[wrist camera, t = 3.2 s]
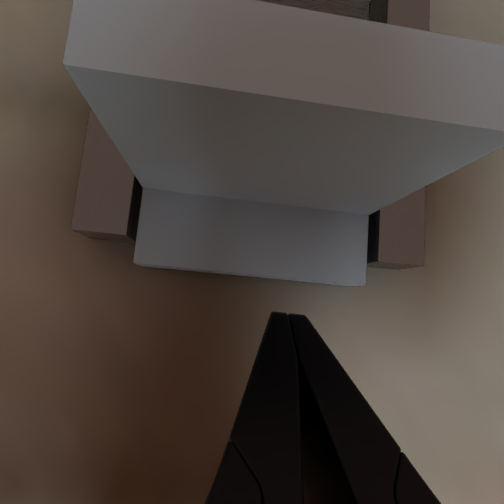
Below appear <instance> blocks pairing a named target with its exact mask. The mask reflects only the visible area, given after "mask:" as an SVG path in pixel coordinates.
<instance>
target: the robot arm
mask: <svg viewBox="0 0 504 504" xmlns="http://www.w3.org/2000/svg"><path fill="white" fill-rule="evenodd" d="M205 504H441V503H440V502H439V500H438V499H437V498H436V496H435V495H434V494H433V492H432V491H431V490H430V488H429V487H428V486H427V484H426V483H425V481H424V480H423V479H422V477H421V476H420V475H419V473H418V472H417V471H416V469H415V468H414V467H413V465H412V464H411V462H410V461H409V460H408V458H407V457H406V455H405V454H404V453H403V452H401V449H400V447H399V446H398V444H397V443H396V442H395V440H394V439H393V437H392V436H391V435H390V433H389V432H388V430H387V429H386V428H385V426H384V425H383V423H382V422H381V421H380V419H379V418H378V416H377V415H376V414H375V412H374V411H373V409H372V408H371V407H370V405H369V404H368V402H367V401H366V399H365V398H364V397H363V395H362V394H361V392H360V391H359V390H358V388H357V387H356V385H355V384H354V383H353V381H352V380H351V378H350V377H349V376H348V374H347V373H346V371H345V370H344V369H343V367H342V366H341V364H340V363H339V362H338V360H337V359H336V357H335V356H334V355H333V353H332V352H331V350H330V349H329V348H328V346H327V345H326V343H325V342H324V341H323V339H322V338H321V336H320V335H319V334H318V332H317V331H316V329H315V328H314V327H313V325H312V324H311V322H310V321H309V320H308V318H307V317H306V316H305V315H301V314H292V313H291V314H287V313H282V312H271V314H270V317H269V320H268V323H267V326H266V329H265V332H264V335H263V338H262V341H261V344H260V347H259V350H258V353H257V356H256V359H255V362H254V365H253V368H252V371H251V374H250V377H249V380H248V383H247V386H246V389H245V392H244V395H243V398H242V401H241V404H240V407H239V410H238V413H237V416H236V419H235V422H234V425H233V428H232V431H231V434H230V437H229V440H228V442H227V445H226V448H225V451H224V454H223V457H222V460H221V463H220V466H219V468H218V471H217V474H216V476H215V479H214V482H213V484H212V487H211V490H210V492H209V495H208V497H207V499H206V501H205Z"/></svg>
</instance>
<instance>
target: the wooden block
mask: <svg viewBox="0 0 504 504" xmlns="http://www.w3.org/2000/svg"><path fill="white" fill-rule="evenodd" d="M257 1H263V2H268V3H274V4H279V5H285V6H290V7H296V8H301V9H307V10H313V11H318V12H324V13H329V14H335V15H340V16H346V17H351V18H357V19H361V17H362V15H363V14H364V12H365V10H366V8H367V6H368V4H369V3H370V1H371V0H257Z"/></svg>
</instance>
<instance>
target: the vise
mask: <svg viewBox="0 0 504 504" xmlns="http://www.w3.org/2000/svg"><path fill="white" fill-rule="evenodd" d="M429 9H430V0H371V1H370V10H369V21H373V22H379V23H385V24H390V25H396V26H401V27H407V28H412V29H418V30H423V31H429ZM142 193H143V187H142V186H141V184H140V183H139V181H138V180H137V178H136V176H135V175H134V173H133V172H132V170H131V169H130V167H129V166H128V164H127V163H126V161H125V160H124V158H123V157H122V155H121V153H120V152H119V150H118V149H117V147H116V146H115V144H114V143H113V141H112V140H111V138H110V137H109V135H108V133H107V132H106V130H105V129H104V127H103V126H102V124H101V123H100V121H99V120H98V118H97V117H96V115H95V113H94V112H93V110H92V109H91V107H90V112H89V119H88V125H87V131H86V137H85V143H84V149H83V156H82V162H81V168H80V174H79V180H78V187H77V193H76V199H75V205H74V211H73V217H72V224H71V230H73V231H75V232H78V233H80V234H82V235H84V236H86V237H88V238H94V239H104V240H114V241H123V242H133V243H136V237H137V230H138V223H139V215H140V208H141V200H142ZM425 202H426V186H425V187H423V188H421V189H419V190H417V191H415V192H413V193H411V194H409V195H407V196H405V197H403V198H401V199H399V200H397V201H395V202H393V203H391V204H389V205H387V206H385V207H384V208H382V209H380V210H378V211H376V212H374V213H372V214H370V215H369V221H368V244H367V266H369V267H379V268H388V269H406V268H413V267H421V266H424V250H425Z"/></svg>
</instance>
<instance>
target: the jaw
mask: <svg viewBox="0 0 504 504" xmlns="http://www.w3.org/2000/svg"><path fill="white" fill-rule="evenodd" d="M63 66H64V67H65V69H66V70H67V72H68V74H69V75H70V77H71V78H72V80H73V81H74V83H75V84H76V86H77V87H78V89H79V90H80V92H81V93H82V95H83V97H84V98H85V100H86V101H87V103H88V104H89V106H90V107H91V109H92V110H93V112H94V113H95V115H96V117H97V118H98V120H99V121H100V123H101V124H102V126H103V127H104V129H105V130H106V132H107V133H108V135H109V137H110V138H111V140H112V141H113V143H114V144H115V146H116V147H117V149H118V150H119V152H120V153H121V155H122V157H123V158H124V160H125V161H126V163H127V164H128V166H129V167H130V169H131V170H132V172H133V173H134V175H135V176H136V178H137V180H138V181H139V183H140V184H141V186H142V187H143V193H142V200H141V208H140V215H139V223H138V230H137V237H136V245H135V252H134V260H133V263H134V264H137V265H139V266H144V267H154V268H165V269H175V270H186V271H196V272H207V273H217V274H228V275H238V276H249V277H259V278H270V279H280V280H291V281H302V282H312V283H323V284H333V285H344V286H364V285H366V268H367V244H368V221H369V215H370V214H372V213H374V212H376V211H378V210H380V209H382V208H384V207H385V206H387V205H389V204H391V203H393V202H395V201H397V200H399V199H401V198H403V197H405V196H407V195H409V194H411V193H413V192H415V191H417V190H419V189H421V188H423V187H425V186H427V185H429V184H431V183H433V182H435V181H437V180H439V179H441V178H443V177H445V176H447V175H449V174H451V173H453V172H455V171H457V170H459V169H461V168H463V167H465V166H467V165H469V164H471V163H473V162H475V161H477V160H479V159H481V158H483V157H484V156H486V155H488V154H490V153H492V152H494V151H496V150H498V149H500V148H502V147H504V45H501V44H495V43H490V42H484V41H479V40H473V39H468V38H462V37H457V36H451V35H446V34H440V33H434V32H429V31H423V30H418V29H412V28H407V27H401V26H396V25H390V24H385V23H379V22H373V21H368V20H362V19H357V18H351V17H346V16H340V15H335V14H329V13H324V12H318V11H313V10H307V9H301V8H296V7H290V6H285V5H279V4H274V3H268V2H263V1H257V0H74V2H73V7H72V13H71V19H70V24H69V30H68V36H67V41H66V47H65V53H64V58H63Z"/></svg>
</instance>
